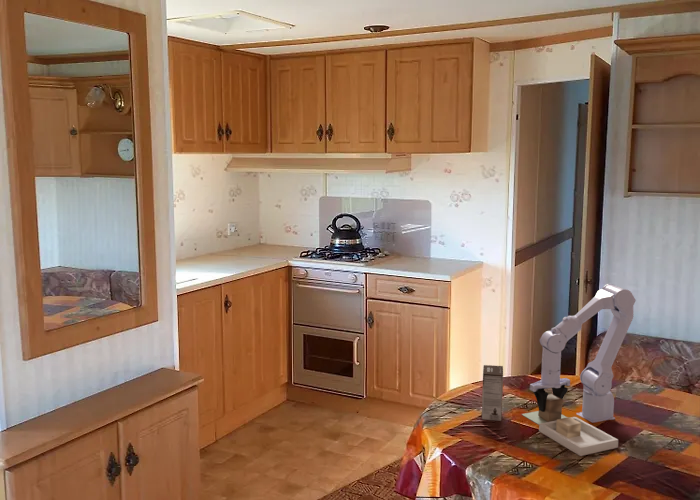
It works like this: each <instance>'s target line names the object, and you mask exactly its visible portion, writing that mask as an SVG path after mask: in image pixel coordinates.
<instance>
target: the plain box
mask: <svg viewBox="0 0 700 500" xmlns="http://www.w3.org/2000/svg"><path fill="white" fill-rule="evenodd" d="M566 417H567V418H562V419H557V425H556V432H558V433H560V434H561V435H563V436H565V437H566V438H572V437H576V436H580V433H581V423H580V422H578V421H576V420H574V419H572V418H571V417H569V416H566Z"/></svg>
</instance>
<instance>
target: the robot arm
mask: <svg viewBox="0 0 700 500" xmlns="http://www.w3.org/2000/svg"><path fill="white" fill-rule="evenodd" d="M636 301H637V300H636V298H635V295H634V294H633V292H632V291H630V290H628V289H626V288H622V287H619V286H618V285H616V284H614V283H606V284H605V285H604V286H602V288H600V289H599V290H597V292H596V293H595V296H594V297H592V298H591V300H589V301H588V302H587V303H586V304H585V305H584V306H583V307H582V308H581V309H580V310H579V311H578V312H577V313H576V314H574V315H567V316H564V317H563V318H562V320H561V321H560V322H559V323H558V324H557V325H555V327H551V329H550V330H547V331H545V332H543V333H542V335H541V337H540V338H539V343H540V345H541V346H542V354H541V371H540V372H541V375H540V378H541V379H540V380H538V381H536V382H533V383H530V384H529V390H530V391H531V392H532V393H533V395H534V396H535V399H536V402H537V407H538V411H539V410H540V411H542V412H545V406H546V399H547V396H548V394H549V392H547V391H546V390H547V389H552V394H554V395H556V396H557V397H559V398H561V399H563V400H564V397H565V396H566V394H567V392H568V387H566V386H569V387H570V386H571V380H570V379H569V378H567V377H565V378H564V377H563V378H561V364H562V363H561V362H562V359H561V358H562V351H563V350H564V349H565V347H566V344H567V342H568V341H569V340H570V339H572V338H573V337H574V336H575V335H577V334H578V333H580V331H582V327H583V326H582V325H583V324H584V323H586V322H588V320H589V319H591V318H592V317H594V316H595V315H597V314H598V313H600V312H601V311H603V310H610V311H611V313H612V316H613V317H612V319H611V322H610V324H609V326H608V328H607V331H606V332H605V335H604V336H603V340H602V342H601V344H600V347H599V349H598V351H597V353H596V356H595V358H594V360H591V361H590V362H588V363H587V365H586V367H585V368H584V369H583V370H582V371H581V373H580V375H579V380H580V382H581V384H582V386H583V387H582V388H583V392H582V406H581V407H582V408H581V411H580V412H576V415H577V416H579V417H581V418H583V419H584V420H587V421H589V422H590V423H593V424H594V423H598V422H603V421H609V420H611V421H612V420H615V419H616V417H614V411H615V410H614V408H615V399H614V398H615V397H614V394H613V393H612V391H611V389H612V386H613V384H612V383H613V378H614V373H613V369H612V366H613V364H614V362H615V360H616V358H617V356H618V353H619V350H620V348H621V346H622V344H623V342H624V340H625V337H626V336H627V332H628V330H629V328H630V326H631V324H632V321H633V319H634V305H635V303H636Z"/></svg>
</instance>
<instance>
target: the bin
mask: <svg viewBox="0 0 700 500" xmlns="http://www.w3.org/2000/svg"><path fill="white" fill-rule="evenodd" d="M571 418H572V419H574V420H576V421H578V422H580V423H581V433H580V436H576V437H572V438H566V437H565V436H563V435H561V434H560V433H558V432H556V425H557V420H556V421H551V422H546V423H541V424H539V425H538V427H539V429H538V432H539V433H542V434H543V435H545V436H546V437H548V438H549V439H551V440H553V441H554V442H556V443H558V444H559V445H561V446H562V447H564V448H566V449H568V450H569V451H571V452H572V453H574V454H576V455H577V456H579V457H583V456H586V455H591V454H594V453H601V452H603V451H608V450H613V449H617V448H619V438H616V437H614V436H612V435H610V434H609V433H606V432H605V431H603V430H601V429H600V428H597V427H596V426H594V425H592V424H589V423H588V422H586V421H584V420H582V419H581V418H579V417H577V416H572V417H571Z"/></svg>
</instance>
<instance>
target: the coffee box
mask: <svg viewBox="0 0 700 500" xmlns="http://www.w3.org/2000/svg"><path fill="white" fill-rule="evenodd" d="M482 372H483V373H482V389H481V390H482V391H481V392H482V396H481V400H482V403H481V420H488V421H500V422H501V421H502V416H503V415H502V413H503V411H502V410H503V392H504V390H503V389H504V366H503V365H490V364H489V365H488V364H484V365H483V370H482Z"/></svg>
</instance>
